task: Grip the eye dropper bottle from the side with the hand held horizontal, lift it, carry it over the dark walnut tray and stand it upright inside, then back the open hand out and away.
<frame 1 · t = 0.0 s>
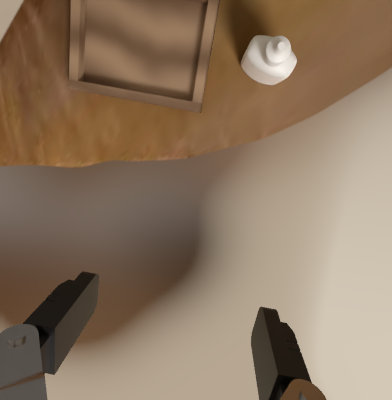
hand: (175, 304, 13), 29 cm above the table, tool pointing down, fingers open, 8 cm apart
walnut tray: (144, 47, 36), on the table
eye dropper bottle: (260, 68, 36), on the table
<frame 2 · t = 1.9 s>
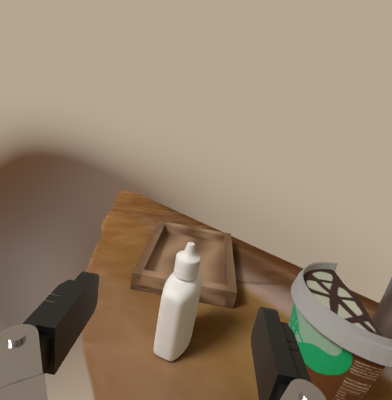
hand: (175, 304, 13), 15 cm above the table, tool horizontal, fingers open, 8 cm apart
walnut tray: (188, 262, 44), on the table
eye dropper bottle: (173, 342, 29), on the table
food container: (300, 366, 29), on the table
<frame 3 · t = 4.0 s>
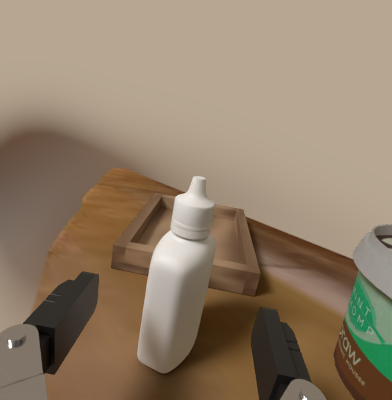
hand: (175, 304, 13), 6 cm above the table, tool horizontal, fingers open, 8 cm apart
walnut tray: (191, 240, 34), on the table
eye dropper bottle: (169, 342, 19), on the table
food container: (365, 382, 19), on the table
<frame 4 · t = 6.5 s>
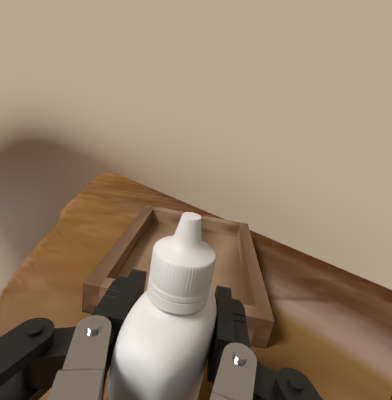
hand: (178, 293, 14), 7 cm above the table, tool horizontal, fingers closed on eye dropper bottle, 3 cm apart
walnut tray: (186, 265, 29), on the table
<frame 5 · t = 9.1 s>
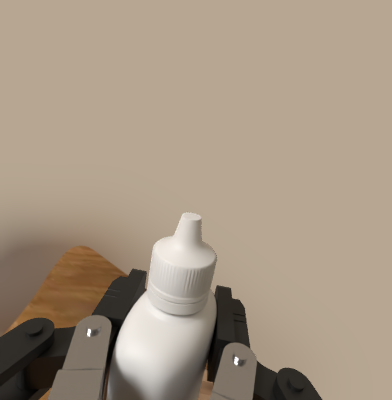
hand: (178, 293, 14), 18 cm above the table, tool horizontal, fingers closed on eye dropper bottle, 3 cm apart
when the fingers open (8 cm above the table, at t = 11.9 s): eye dropper bottle drops 1 cm, resting on walnut tray.
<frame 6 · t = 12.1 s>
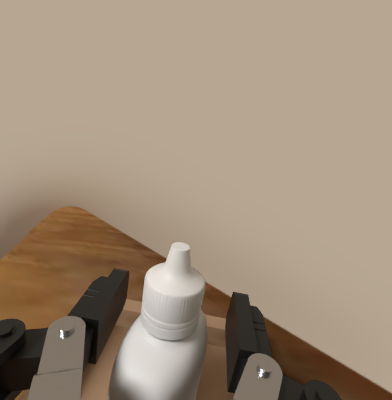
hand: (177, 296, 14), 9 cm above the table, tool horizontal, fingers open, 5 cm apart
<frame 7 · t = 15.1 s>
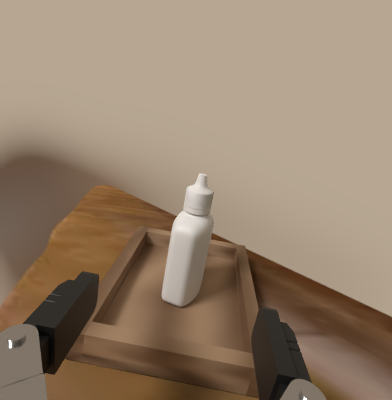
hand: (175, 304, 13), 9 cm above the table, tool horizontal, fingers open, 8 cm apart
walnut tray: (180, 295, 27), on the table
eye dropper bottle: (181, 291, 27), point 1 cm above the table, touching walnut tray
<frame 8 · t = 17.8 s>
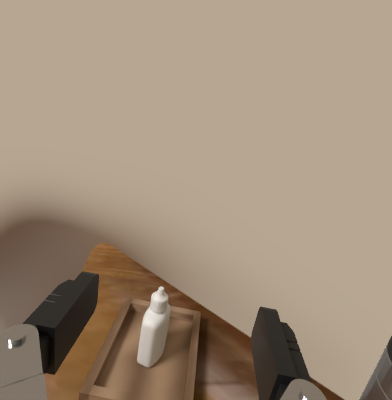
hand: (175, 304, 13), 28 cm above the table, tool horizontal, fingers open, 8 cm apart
walnut tray: (150, 356, 42), on the table
eye dropper bottle: (151, 353, 42), point 1 cm above the table, touching walnut tray
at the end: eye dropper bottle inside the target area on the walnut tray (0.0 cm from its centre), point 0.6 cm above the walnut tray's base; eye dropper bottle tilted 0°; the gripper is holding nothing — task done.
